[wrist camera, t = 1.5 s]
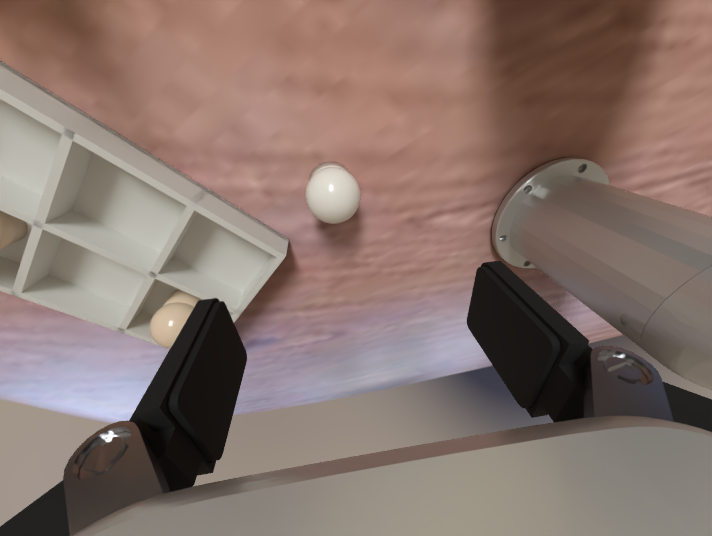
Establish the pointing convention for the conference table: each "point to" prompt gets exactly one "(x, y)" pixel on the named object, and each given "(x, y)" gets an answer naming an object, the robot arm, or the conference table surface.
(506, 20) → the conference table surface
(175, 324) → the egg in carton
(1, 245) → the egg in carton
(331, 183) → the loose egg
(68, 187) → the egg tray
